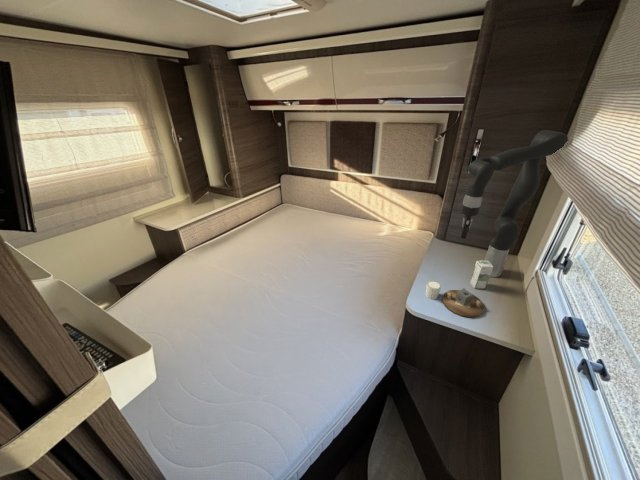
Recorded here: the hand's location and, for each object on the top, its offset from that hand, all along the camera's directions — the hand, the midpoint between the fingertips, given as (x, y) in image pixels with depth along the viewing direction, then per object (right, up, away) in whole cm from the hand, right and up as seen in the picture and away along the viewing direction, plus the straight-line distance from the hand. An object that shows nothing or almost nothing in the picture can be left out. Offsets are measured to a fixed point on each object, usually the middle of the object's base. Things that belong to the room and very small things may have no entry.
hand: (463, 234), depth 132 cm
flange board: (-3, -34, -4) cm, 34 cm away
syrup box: (+12, -27, +8) cm, 31 cm away
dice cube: (-3, -33, -4) cm, 33 cm away
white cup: (-15, -31, +2) cm, 35 cm away
